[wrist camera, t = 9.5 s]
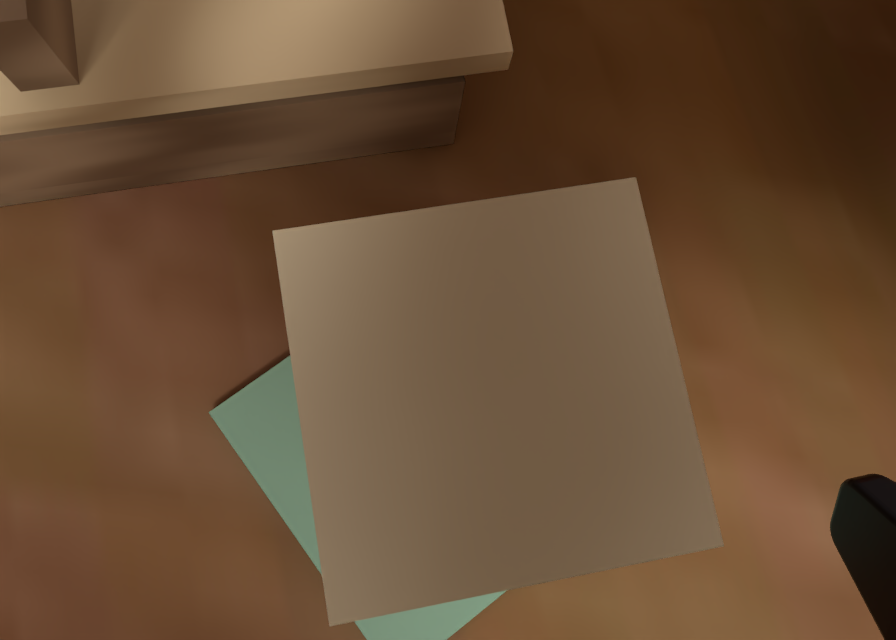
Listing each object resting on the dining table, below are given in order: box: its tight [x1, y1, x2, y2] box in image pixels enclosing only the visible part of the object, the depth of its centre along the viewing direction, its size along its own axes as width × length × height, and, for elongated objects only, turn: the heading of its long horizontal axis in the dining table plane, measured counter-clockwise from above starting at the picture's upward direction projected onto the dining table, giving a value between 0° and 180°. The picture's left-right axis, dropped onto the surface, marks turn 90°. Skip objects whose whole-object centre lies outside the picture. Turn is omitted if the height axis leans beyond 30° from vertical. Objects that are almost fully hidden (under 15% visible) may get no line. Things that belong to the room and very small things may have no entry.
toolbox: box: [0, 75, 465, 207], centre depth 20 cm, size 20×9×4 cm, turn 100°
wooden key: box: [272, 177, 724, 626], centre depth 13 cm, size 4×4×13 cm
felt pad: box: [209, 356, 507, 640], centre depth 20 cm, size 8×8×1 cm
